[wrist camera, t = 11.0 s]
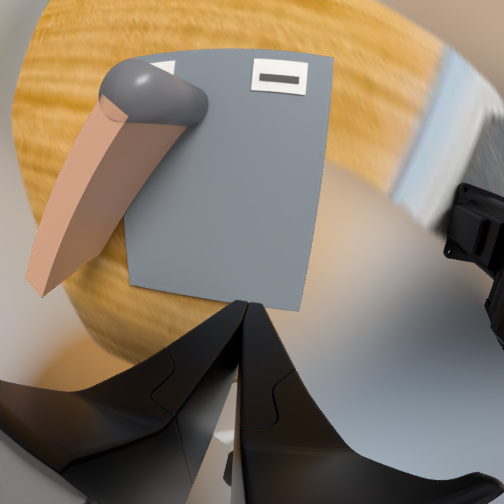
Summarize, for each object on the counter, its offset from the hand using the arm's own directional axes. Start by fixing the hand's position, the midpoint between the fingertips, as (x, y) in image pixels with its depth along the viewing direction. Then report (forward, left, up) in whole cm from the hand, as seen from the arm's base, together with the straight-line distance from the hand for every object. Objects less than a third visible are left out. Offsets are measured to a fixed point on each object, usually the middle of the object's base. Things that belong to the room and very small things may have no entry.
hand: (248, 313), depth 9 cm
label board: (+4, -2, -13) cm, 14 cm away
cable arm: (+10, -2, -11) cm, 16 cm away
